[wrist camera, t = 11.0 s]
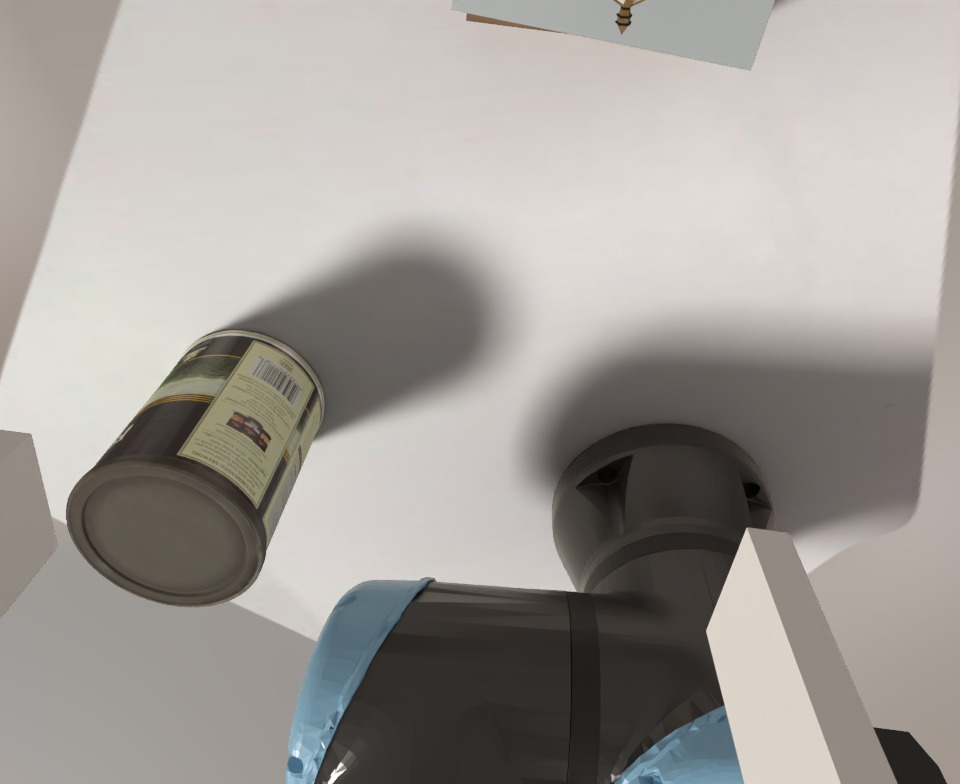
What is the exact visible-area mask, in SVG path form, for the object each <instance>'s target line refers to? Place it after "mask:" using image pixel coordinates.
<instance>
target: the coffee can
mask: <svg viewBox="0 0 960 784" xmlns="http://www.w3.org/2000/svg"><path fill="white" fill-rule="evenodd" d="M324 410H325V401H324V394H323V390H322V387H321V384H320V382H319V380H318V378H317V376H316V374H315V373H314V371H313V370H312V368H311V367H310V366H309V365H308V364H307V362H306V361H305V360H304V359H303V358H302V357H301V356H300V355H299V354H297V353H296V352H295V351H294V350H292V349H291V348H290V347H288V346H287V345H285V344H283V343H281V342H280V341H278V340H276V339H273V338H271V337H268V336H265V335H263V334H260V333H255V332H249V331H243V330H228V331H221V332H216V333H213V334H210V335H207V336H205V337H203V338H201V339H199V340H197V341H196V342H195V343H193V344H192V345H191V346H190V347H189V348H188V349H187V350H186V352H185V353H184V354H183V356H182V358H181V359H180V361H179V362H178V363H177V365H176V366H175V367H174V369H173V370H172V371H171V372H170V374H169V375H168V376H167V377H166V379H165V380H164V381H163V383H162V384H161V385H160V386H159V388H158V389H157V390H156V391H155V393H154V394H153V395H152V396H151V398H150V399H149V400H148V401H147V403H146V404H145V405H144V406H143V407H142V409H141V410H140V411H139V412H138V414H137V415H136V416H135V417H134V419H133V420H132V421H131V422H130V423H129V425H128V426H127V427H126V428H125V429H124V431H123V432H122V433H121V434H120V436H119V437H118V438H117V439H116V440H115V442H114V443H113V444H112V445H111V447H110V448H109V449H108V450H107V452H106V453H105V454H104V455H103V456H102V458H101V459H100V460H99V461H98V463H97V464H96V465H95V466H94V467H93V468H92V469H91V470H90V471H89V472H87V473H86V474H85V475H84V476H83V477H82V478H81V479H80V480H79V482H78V483H77V484H76V485H75V487H74V488H73V490H72V491H71V493H70V495H69V498H68V502H67V508H66V520H67V527H68V530H69V533H70V535H71V538H72V540H73V542H74V544H75V546H76V547H77V549H78V550H79V552H80V553H81V554H82V556H83V557H84V558H85V559H86V560H87V562H88V563H89V564H90V565H91V566H92V567H93V568H94V569H96V571H98V572H99V573H100V574H101V575H103V576H104V577H105V578H107V579H108V580H109V581H111V582H112V583H114V584H115V585H117V586H118V587H120V588H122V589H124V590H126V591H128V592H130V593H132V594H134V595H136V596H139V597H142V598H145V599H147V600H151V601H154V602H157V603H161V604H166V605H173V606H179V607H204V606H212V605H216V604H220V603H224V602H227V601H230V600H232V599H234V598H236V597H237V596H239V595H241V594H242V593H244V592H245V591H246V590H247V589H249V588H250V587H251V585H252V584H253V583H254V582H255V580H256V579H257V577H258V575H259V573H260V571H261V569H262V566H263V563H264V560H265V556H266V550H267V548H268V545H269V543H270V541H271V538H272V536H273V534H274V531H275V529H276V526H277V524H278V522H279V519H280V517H281V515H282V512H283V510H284V508H285V505H286V503H287V500H288V498H289V496H290V493H291V491H292V489H293V486H294V484H295V482H296V479H297V477H298V474H299V472H300V470H301V467H302V465H303V463H304V460H305V458H306V456H307V453H308V451H309V449H310V446H311V444H312V442H313V439H314V437H315V435H316V433H317V432H318V430H319V428H320V426H321V424H322V421H323V418H324Z"/></svg>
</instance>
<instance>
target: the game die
mask: <svg viewBox="0 0 960 784" xmlns="http://www.w3.org/2000/svg"><path fill="white" fill-rule="evenodd" d="M614 1H615V2H616V3H618V4H619V5H620V6H621V9H620V11H619V13H617V16H618V17H617V20H616V21H615V23H616V24H617V25H618V28H619V30H620V33H621V35H622V34H623V32H624V31H625V30H626V28H627V27H628V26H629V25H630V24H631V21H630V19H631V17H632V14H631V11H630V8H631V7H632V6H634V5H637V4H639V3H641V2H643V1H645V0H614Z"/></svg>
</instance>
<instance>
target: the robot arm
mask: <svg viewBox="0 0 960 784" xmlns="http://www.w3.org/2000/svg"><path fill="white" fill-rule="evenodd" d="M552 525H553V537H554V542H555V546H556V549H557V552H558V555H559V557H560V559H561V561H562V563H563V565H564V567H565V569H566V571H567V573H568V575H569V577H570V579H571V581H572V583H573V585H574V587H575V589H576V591H577V592H567V591H558V590H540V589H523V588H510V587H497V586H484V585H470V584H457V583H444V582H436V580H435V578H430V577H425V578H422V579H421V580H419V581H409V580H370V581H366V582H362V583H360V584H358V585H356V586H355V587H353V588H352V589H350V590H349V591H348V592H347V593H346V594H345V595H344V596H343V597H342V598H341V599H340V600H339V602H338V603H337V605H336V606H335V608H334V609H333V611H332V613H331V614H330V616H329V617H328V619H327V621H326V623H325V625H324V627H323V629H322V631H321V634H320V636H319V638H318V640H317V643H316V645H315V648H314V651H313V653H312V656H311V659H310V661H309V665H308V667H307V670H306V673H305V676H304V680H303V684H302V686H301V690H300V694H299V697H298V701H297V705H296V709H295V713H294V717H293V722H292V727H291V732H290V737H289V747H288V749H289V752H290V756H289V759H288V763H287V767H286V784H947V783H946V781H945V779H944V777H943V775H942V773H941V771H940V769H939V767H938V766H937V764H936V763H935V762H934V761H933V760H932V759H931V757H930V756H929V755H928V754H927V753H926V752H925V750H924V749H923V748H922V747H921V746H920V745H919V744H918V742H917V741H916V740H915V739H914V738H913V737H912V735H911V734H910V733H909V732H904V731H897V730H889V729H881V728H874V727H873V726H872V724H871V722H870V719H869V717H868V715H867V712H866V710H865V708H864V706H863V703H862V701H861V698H860V696H859V694H858V692H857V689H856V687H855V685H854V682H853V680H852V678H851V676H850V673H849V671H848V669H847V666H846V664H845V662H844V659H843V657H842V655H841V652H840V650H839V648H838V646H837V643H836V641H835V639H834V636H833V634H832V632H831V629H830V627H829V625H828V623H827V620H826V618H825V616H824V614H823V611H822V609H821V607H820V604H819V602H818V600H817V597H816V595H815V593H814V590H813V588H812V586H811V584H810V581H809V579H808V577H807V574H806V572H805V570H804V567H803V565H802V563H801V560H800V558H799V556H798V554H797V551H796V549H795V547H794V544H793V542H792V540H791V537H790V535H789V533H786V532H779V531H774V511H773V505H772V500H771V497H770V494H769V492H768V489H767V487H766V484H765V482H764V479H763V477H762V475H761V472H760V471H759V469H758V467H757V465H756V464H755V462H754V461H753V460H752V459H751V457H750V456H749V455H748V454H747V453H746V452H745V451H744V450H742V449H741V448H740V447H739V446H737V445H736V444H735V443H733V442H731V441H730V440H728V439H726V438H724V437H722V436H720V435H718V434H716V433H713V432H710V431H708V430H704V429H701V428H696V427H692V426H685V425H674V424H660V425H648V426H642V427H637V428H633V429H629V430H625V431H622V432H619V433H616V434H614V435H612V436H609V437H607V438H605V439H603V440H601V441H599V442H598V443H596V444H594V445H593V446H591V447H590V448H588V449H587V450H586V451H584V452H583V453H582V454H581V455H579V456H578V457H577V458H576V459H575V460H574V461H573V462H572V463H571V465H570V466H569V467H568V468H567V470H566V471H565V472H564V474H563V475H562V477H561V479H560V481H559V483H558V485H557V487H556V490H555V493H554V498H553V504H552ZM57 548H58V543H57V539H56V535H55V531H54V526H53V522H52V518H51V514H50V510H49V506H48V501H47V497H46V493H45V489H44V485H43V481H42V476H41V472H40V468H39V464H38V460H37V456H36V451H35V447H34V443H33V439H32V435H31V434H29V433H21V432H13V431H6V430H0V619H1V617H3V615H4V614H5V613H6V612H7V610H8V609H9V608H10V606H11V605H12V604H13V603H14V602H15V600H16V599H17V598H18V596H19V595H20V594H21V593H22V591H23V590H24V589H25V588H26V587H27V585H28V584H29V583H30V582H31V580H32V579H33V578H34V577H35V575H36V574H37V572H39V570H40V569H41V568H42V567H43V565H44V564H45V563H46V562H47V560H48V559H49V558H50V556H51V555H52V554H53V553H54V551H55V550H56V549H57Z"/></svg>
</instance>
